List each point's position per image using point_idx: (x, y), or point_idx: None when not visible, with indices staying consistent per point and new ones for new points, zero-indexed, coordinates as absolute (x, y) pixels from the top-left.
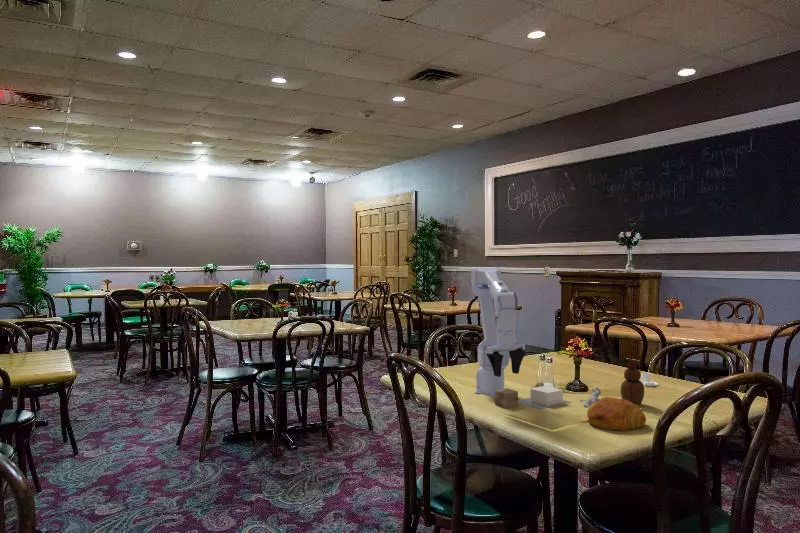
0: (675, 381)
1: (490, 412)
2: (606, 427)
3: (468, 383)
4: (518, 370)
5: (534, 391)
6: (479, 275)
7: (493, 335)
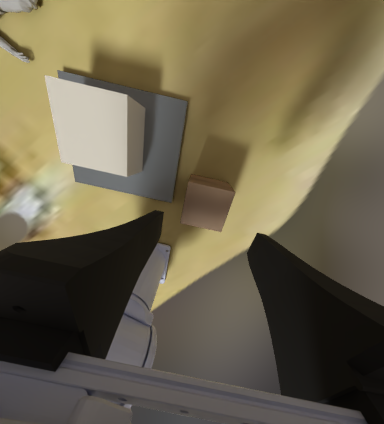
0: None
1: (266, 195)
2: None
3: None
4: (154, 213)
5: (129, 159)
6: None
7: None
